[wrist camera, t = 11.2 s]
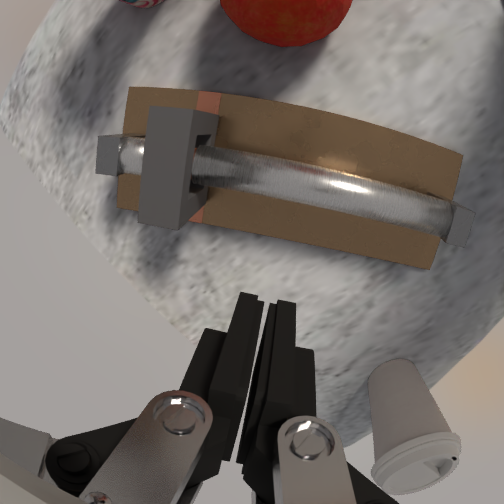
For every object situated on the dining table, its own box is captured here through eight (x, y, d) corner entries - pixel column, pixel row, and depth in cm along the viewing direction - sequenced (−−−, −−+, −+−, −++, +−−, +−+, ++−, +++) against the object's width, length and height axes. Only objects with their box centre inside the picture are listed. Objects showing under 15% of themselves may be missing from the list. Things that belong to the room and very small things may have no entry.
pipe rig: (460, 154, 25) (497, 163, 19) (427, 267, 30) (454, 298, 23) (132, 87, 26) (95, 80, 20) (119, 206, 31) (84, 224, 24)
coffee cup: (428, 389, 36) (461, 477, 22) (361, 411, 38) (377, 505, 24) (424, 338, 33) (472, 434, 19) (348, 363, 35) (368, 471, 21)
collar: (219, 115, 26) (193, 109, 18) (205, 203, 29) (177, 230, 21) (186, 111, 26) (149, 105, 18) (174, 198, 29) (137, 222, 21)
